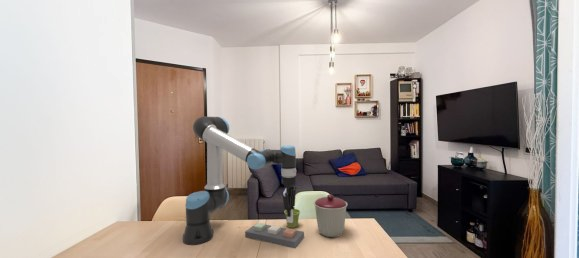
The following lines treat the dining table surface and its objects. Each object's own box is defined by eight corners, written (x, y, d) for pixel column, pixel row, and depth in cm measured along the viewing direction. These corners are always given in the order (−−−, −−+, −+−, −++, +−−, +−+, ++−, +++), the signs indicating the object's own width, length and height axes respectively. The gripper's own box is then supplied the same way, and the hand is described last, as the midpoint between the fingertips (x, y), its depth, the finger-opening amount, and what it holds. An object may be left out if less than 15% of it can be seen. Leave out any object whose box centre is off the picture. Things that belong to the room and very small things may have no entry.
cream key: (267, 234, 124) (267, 228, 124) (272, 230, 128) (272, 225, 128) (276, 236, 122) (276, 230, 122) (280, 232, 126) (280, 226, 126)
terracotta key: (283, 237, 120) (283, 231, 120) (287, 233, 125) (287, 228, 125) (292, 239, 118) (292, 233, 118) (296, 235, 123) (296, 229, 123)
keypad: (245, 237, 126) (245, 231, 126) (257, 228, 137) (257, 222, 137) (295, 248, 114) (294, 242, 114) (304, 237, 124) (304, 231, 124)
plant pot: (299, 230, 133) (298, 214, 133) (282, 228, 135) (282, 213, 135) (301, 223, 142) (301, 209, 142) (286, 222, 144) (286, 208, 144)
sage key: (253, 231, 128) (253, 226, 128) (258, 227, 132) (258, 222, 132) (261, 232, 126) (261, 227, 126) (266, 229, 130) (266, 224, 130)
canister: (343, 225, 138) (342, 189, 138) (352, 240, 120) (351, 199, 120) (312, 226, 138) (311, 190, 138) (316, 241, 120) (316, 200, 120)
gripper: (290, 179, 113) (291, 228, 114) (300, 174, 125) (301, 218, 125) (276, 178, 117) (277, 225, 117) (287, 173, 128) (288, 216, 129)
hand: (290, 222), depth 121 cm, fingers closed
